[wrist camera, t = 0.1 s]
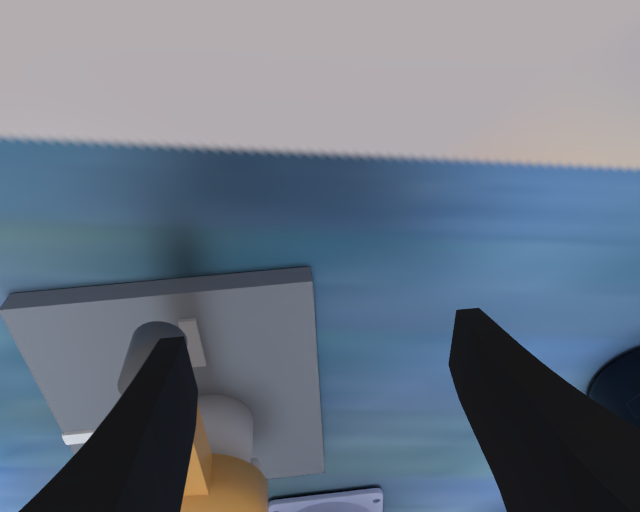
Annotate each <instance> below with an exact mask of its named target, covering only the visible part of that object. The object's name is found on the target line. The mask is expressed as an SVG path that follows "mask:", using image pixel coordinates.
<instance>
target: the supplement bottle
mask: <svg viewBox="0 0 640 512" xmlns="http://www.w3.org/2000/svg"><path fill="white" fill-rule="evenodd" d="M589 398H591V399H592V400H594V401H595V402H597V403H598V404H600V405H602V406H603V407H605V408H606V409H608V410H609V411H611V412H612V413H614V414H616V415H617V416H619V417H621V418H622V419H624V420H626V421H627V422H629V423H631V424H632V425H634V426H636V427H638V428H640V349H638V350H636V351H633V352H630V353H628V354H626V355H624V356H622V357H620V358H618V359H617V360H615V361H614V362H612V363H611V364H609V365H608V366H607V367H606V368H605V369H604V370H602V372H601V373H600V374H599V375H598V376H597V377H596V379H595V380H594V382H593V384H592V386H591V389H590V392H589Z"/></svg>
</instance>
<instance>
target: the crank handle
mask: <svg viewBox="0 0 640 512" xmlns="http://www.w3.org/2000/svg"><path fill="white" fill-rule="evenodd" d="M180 336H184V337H185V341H186V345H188V341H187V337H186V335H185V333H184V332H183V331H182V330H181V329H180V328H178V327H177V326H175V325H173V324H171V323H167V322H162V321H153V322H148V323H145V324H143V325H141V326H139V327H138V328H137V329H136V330H135V331H134V333H133V335H132V338H131V342H130V345H129V348H128V351H127V354H126V357H125V361H124V364H123V367H122V370H121V373H120V376H119V379H118V383H117V387H118V391H119V393H120V394H121V396H122V394H123V393H124V391H125V390H126V389H127V387H128V386H129V384H130V383H131V382H132V380H133V379H134V377H135V376H136V374H137V373H138V371H139V370H140V368H141V367H142V365H143V363H144V362H145V360H146V359H147V357H148V356H149V354H150V352H151V351H152V349H153V348H154V346H155V344H156V343H157V342H158V340H159V339H160V338H170V337H180ZM180 512H268V483H267V480H266V478H265V476H264V474H263V473H262V472H261V471H260V470H259V469H258V468H257V467H255V466H254V465H252V464H251V463H249V462H247V461H245V460H242V459H240V458H237V457H233V456H229V455H223V454H214V453H211V449H210V446H209V442H208V438H207V435H206V431H205V427H204V423H203V420H202V416H201V412H200V409H199V405H198V403H197V419H196V430H195V435H194V441H193V447H192V452H191V458H190V463H189V468H188V474H187V479H186V484H185V490H184V495H183V500H182V506H181V511H180Z"/></svg>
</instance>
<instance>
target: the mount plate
mask: <svg viewBox="0 0 640 512" xmlns="http://www.w3.org/2000/svg"><path fill="white" fill-rule="evenodd" d="M0 314H1V316H2V318H3V320H4V322H5V324H6V326H7V328H8V329H9V331H10V333H11V335H12V337H13V339H14V341H15V343H16V345H17V347H18V349H19V350H20V352H21V354H22V356H23V358H24V360H25V362H26V364H27V366H28V368H29V369H30V371H31V373H32V375H33V377H34V379H35V381H36V383H37V385H38V387H39V389H40V390H41V392H42V394H43V396H44V398H45V400H46V402H47V404H48V406H49V408H50V410H51V411H52V413H53V415H54V417H55V419H56V421H57V423H58V425H59V427H60V429H61V430H62V432H63V433H62V438H63V440H64V442H65V444H66V445H69V446H70V448H71V450H72V451H73V453H74V455H75V454H76V453H77V452H78V450H79V449H80V448H81V447H82V446H83V445H84V443H85V442H86V441H87V440H88V439H89V437H90V436H91V435H92V434H93V433H94V431H95V430H96V429H97V427H98V426H99V425H100V424H101V422H102V421H103V420H104V418H105V417H106V416H107V415H108V413H109V412H110V411H111V410H112V408H113V407H114V405H115V404H116V403H117V401H118V400H119V399H120V397H121V394H120V393H119V391H118V387H117V383H118V379H119V376H120V373H121V370H122V367H123V364H124V361H125V357H126V354H127V351H128V348H129V345H130V342H131V338H132V335H133V333H134V331H135V330H136V329H137V328H138V327H139V326H141V325H143V324H145V323H148V322H153V321H162V322H167V323H171V324H173V325H175V326H177V327H178V328H180V329H181V330H182V331H183V332H184V333H185V335H186V337H187V341H188V345H187V349H188V353H189V357H190V361H191V364H192V368H193V372H194V376H195V380H196V384H197V388H198V405H199V409H200V412H201V416H202V420H203V423H204V427H205V431H206V435H207V438H208V442H209V446H210V449H211V453H214V454H223V455H229V456H233V457H237V458H240V459H242V460H245V461H247V462H249V463H251V464H252V465H254V466H255V467H257V468H258V469H259V470H260V471H261V472H262V473H263V474H264V476H265V478H266V479H274V478H283V477H291V476H300V475H309V474H318V473H325V470H324V454H323V438H322V422H321V407H320V391H319V375H318V359H317V343H316V327H315V311H314V296H313V281H312V274H311V267H299V268H288V269H277V270H266V271H255V272H244V273H233V274H222V275H211V276H200V277H189V278H178V279H167V280H156V281H144V282H133V283H122V284H111V285H100V286H89V287H78V288H67V289H56V290H45V291H34V292H23V293H12V294H9V296H8V297H7V299H6V300H5V301H4V303H3V304H2V306H1V307H0Z"/></svg>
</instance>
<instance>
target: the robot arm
mask: <svg viewBox="0 0 640 512" xmlns="http://www.w3.org/2000/svg"><path fill="white" fill-rule="evenodd" d="M449 368H450V371H451V375H452V378H453V382H454V385H455V388H456V391H457V394H458V397H459V400H460V402H461V405H462V407H463V409H464V411H465V414H466V416H467V418H468V420H469V423H470V425H471V427H472V429H473V431H474V434H475V436H476V438H477V440H478V442H479V445H480V447H481V449H482V451H483V453H484V455H485V458H486V460H487V462H488V464H489V466H490V469H491V471H492V473H493V475H494V478H495V480H496V483H497V485H498V488H499V490H500V493H501V496H502V498H503V501H504V504H505V507H506V510H507V512H640V428H638V427H636V426H634V425H632V424H631V423H629V422H627V421H626V420H624V419H622V418H621V417H619V416H617V415H616V414H614V413H612V412H611V411H609V410H608V409H606V408H605V407H603V406H602V405H600V404H598V403H597V402H595V401H594V400H592V399H591V398H589V397H588V396H586V395H585V394H583V393H582V392H580V391H579V390H578V389H576V388H575V387H573V386H572V385H571V384H569V383H568V382H567V381H565V380H564V379H563V378H561V377H560V376H559V375H557V374H556V373H555V372H553V371H552V370H551V369H549V368H548V367H547V366H546V365H544V364H543V363H542V362H541V361H539V360H538V359H537V358H536V357H535V356H533V355H532V354H531V353H530V352H529V351H527V350H526V349H525V348H524V347H523V346H521V345H520V344H519V343H518V342H517V341H516V340H514V339H513V338H512V337H511V336H510V335H509V334H508V333H507V332H505V331H504V330H503V329H502V328H501V327H500V326H499V325H498V324H496V323H495V322H494V321H493V320H492V319H491V318H490V317H489V316H487V315H486V314H485V313H484V312H483V311H482V310H481V309H479V308H473V309H462V310H456V317H455V323H454V330H453V337H452V344H451V351H450V358H449ZM197 403H198V388H197V384H196V380H195V376H194V372H193V368H192V364H191V361H190V357H189V353H188V349H187V345H186V341H185V337H184V336H180V337H170V338H160V339H159V340H158V342H157V343H156V344H155V346H154V348H153V349H152V351H151V352H150V354H149V356H148V357H147V359H146V360H145V362H144V363H143V365H142V367H141V368H140V370H139V371H138V373H137V374H136V376H135V377H134V379H133V380H132V382H131V383H130V384H129V386H128V387H127V389H126V390H125V391H124V393H123V394H122V396H121V397H120V399H119V400H118V401H117V403H116V404H115V405H114V407H113V408H112V410H111V411H110V412H109V413H108V415H107V416H106V417H105V418H104V420H103V421H102V422H101V424H100V425H99V426H98V427H97V429H96V430H95V431H94V433H93V434H92V435H91V436H90V437H89V439H88V440H87V441H86V442H85V443H84V445H83V446H82V447H81V448H80V449H79V450H78V452H77V453H76V454H75V455H74V456H73V457H72V458H71V459H70V460H69V462H68V463H67V464H66V465H65V466H64V467H63V468H62V469H61V470H60V471H59V472H58V473H57V474H56V475H55V476H54V477H53V478H52V479H51V481H50V482H49V483H48V484H47V485H46V486H45V487H44V488H43V489H42V490H41V491H40V492H39V493H38V494H37V495H36V496H35V497H34V498H33V499H31V500H30V501H29V502H28V503H27V504H26V505H25V506H24V507H23V508H22V509H21V510H20V511H19V512H180V511H181V506H182V500H183V495H184V490H185V484H186V479H187V474H188V468H189V463H190V458H191V452H192V447H193V441H194V435H195V430H196V419H197ZM268 512H383V492H382V490H381V489H380V488H371V489H363V490H354V491H346V492H337V493H328V494H320V495H311V496H303V497H294V498H286V499H277V500H272V501H270V502H269V503H268Z"/></svg>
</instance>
